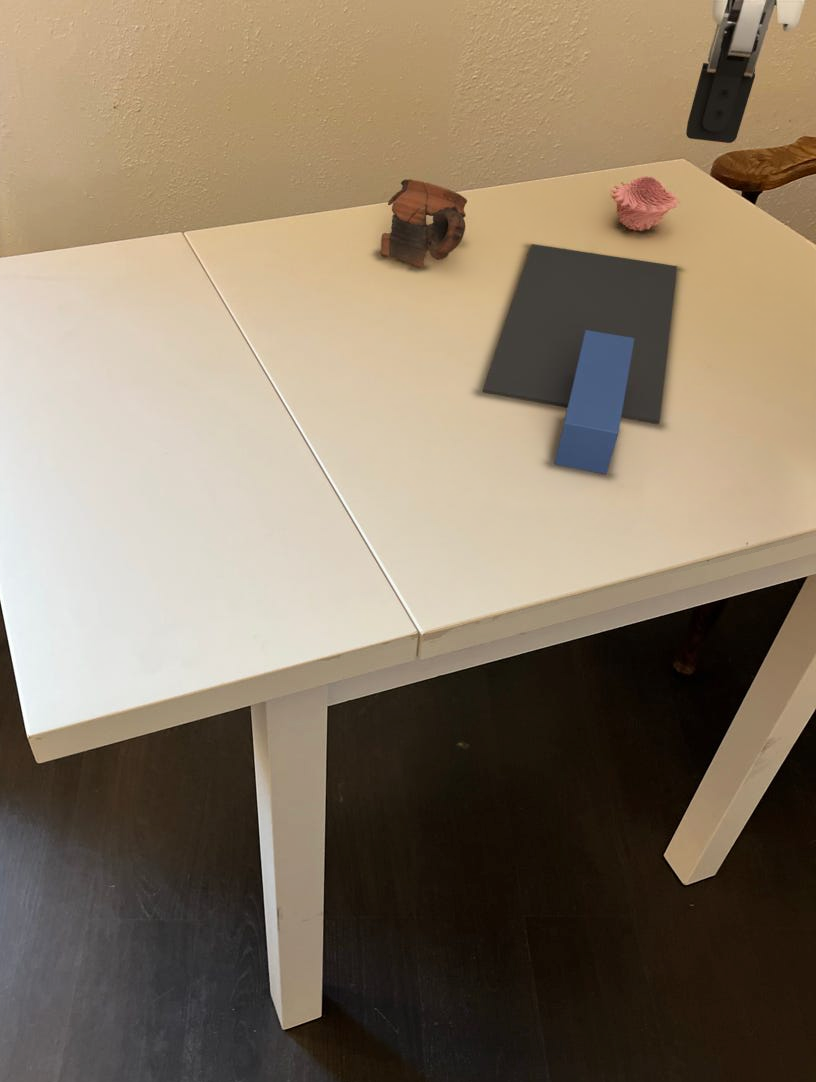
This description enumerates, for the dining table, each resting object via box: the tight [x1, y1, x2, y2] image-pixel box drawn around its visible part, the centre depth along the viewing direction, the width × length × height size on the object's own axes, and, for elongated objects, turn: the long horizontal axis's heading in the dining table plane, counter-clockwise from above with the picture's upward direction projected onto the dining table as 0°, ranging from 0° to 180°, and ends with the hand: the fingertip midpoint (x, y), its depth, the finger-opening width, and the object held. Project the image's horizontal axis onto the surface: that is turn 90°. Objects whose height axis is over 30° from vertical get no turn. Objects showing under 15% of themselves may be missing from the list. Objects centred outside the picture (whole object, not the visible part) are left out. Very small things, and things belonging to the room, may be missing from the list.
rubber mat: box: [482, 243, 678, 425], centre depth 96 cm, size 16×30×1 cm, turn 164°
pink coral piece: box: [609, 176, 681, 232], centre depth 109 cm, size 8×8×6 cm
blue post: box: [554, 330, 634, 475], centre depth 83 cm, size 4×4×14 cm
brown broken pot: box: [380, 178, 468, 268], centre depth 104 cm, size 12×9×8 cm
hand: (710, 135), depth 63 cm, fingers closed
